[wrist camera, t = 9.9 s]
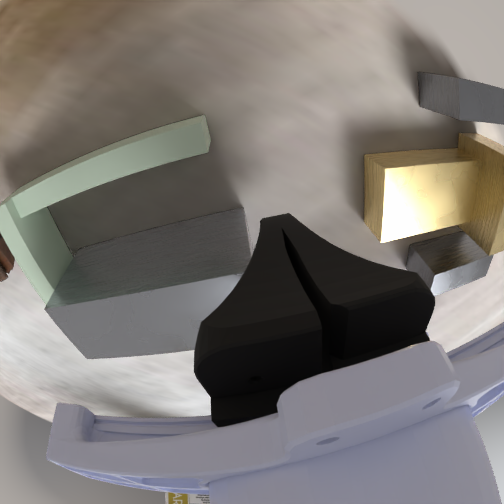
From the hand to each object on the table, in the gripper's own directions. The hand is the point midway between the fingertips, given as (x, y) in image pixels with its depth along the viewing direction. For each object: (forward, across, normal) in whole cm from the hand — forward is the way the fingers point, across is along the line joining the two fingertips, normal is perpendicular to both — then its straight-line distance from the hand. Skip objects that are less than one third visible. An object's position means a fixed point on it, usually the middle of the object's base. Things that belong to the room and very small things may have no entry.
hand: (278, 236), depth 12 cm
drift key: (+3, -10, 0) cm, 10 cm away
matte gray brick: (+3, +6, +2) cm, 7 cm away
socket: (+3, -12, 0) cm, 12 cm away
